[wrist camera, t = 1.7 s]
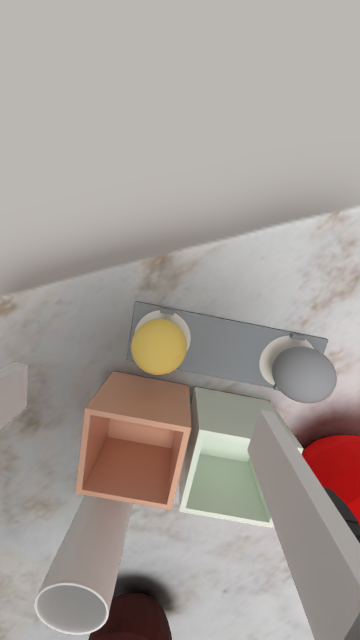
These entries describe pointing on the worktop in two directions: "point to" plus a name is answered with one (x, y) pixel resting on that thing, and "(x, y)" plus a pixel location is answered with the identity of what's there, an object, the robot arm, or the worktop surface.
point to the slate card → (226, 344)
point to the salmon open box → (134, 440)
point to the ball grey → (304, 374)
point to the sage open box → (224, 458)
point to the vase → (337, 467)
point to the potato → (134, 620)
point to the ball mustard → (159, 346)
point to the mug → (85, 568)
